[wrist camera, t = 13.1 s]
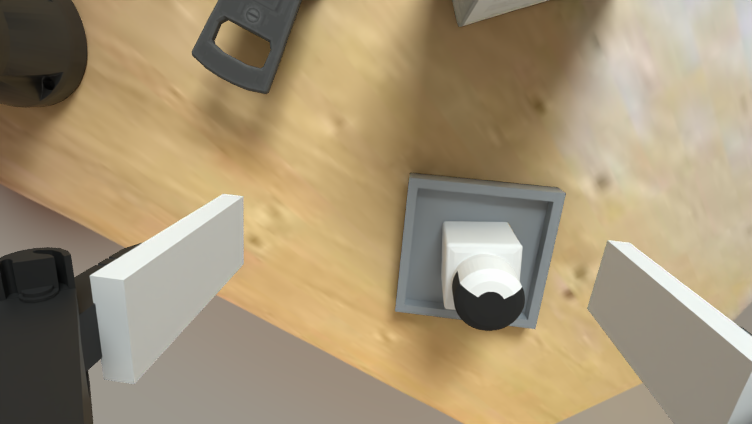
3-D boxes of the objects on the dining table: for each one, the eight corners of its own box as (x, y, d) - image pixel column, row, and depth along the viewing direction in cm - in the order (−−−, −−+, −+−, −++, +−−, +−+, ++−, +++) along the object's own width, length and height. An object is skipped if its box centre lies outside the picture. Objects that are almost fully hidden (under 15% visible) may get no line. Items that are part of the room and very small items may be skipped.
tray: (396, 300, 51) (395, 311, 48) (409, 172, 46) (409, 177, 43) (529, 317, 49) (535, 329, 47) (558, 187, 45) (565, 193, 42)
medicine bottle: (504, 280, 47) (530, 342, 36) (440, 278, 48) (446, 339, 37) (508, 220, 45) (537, 267, 34) (442, 220, 46) (449, 265, 35)
